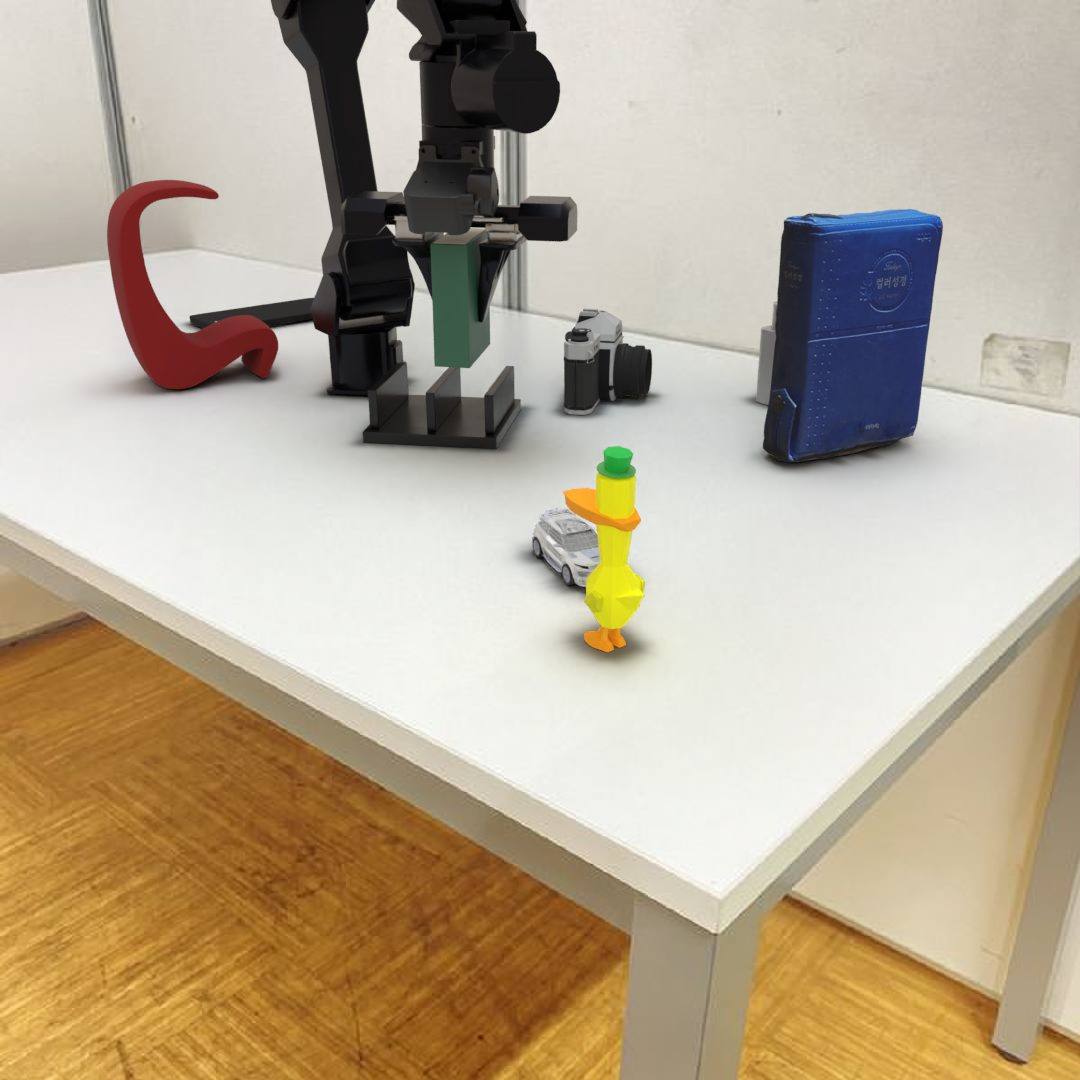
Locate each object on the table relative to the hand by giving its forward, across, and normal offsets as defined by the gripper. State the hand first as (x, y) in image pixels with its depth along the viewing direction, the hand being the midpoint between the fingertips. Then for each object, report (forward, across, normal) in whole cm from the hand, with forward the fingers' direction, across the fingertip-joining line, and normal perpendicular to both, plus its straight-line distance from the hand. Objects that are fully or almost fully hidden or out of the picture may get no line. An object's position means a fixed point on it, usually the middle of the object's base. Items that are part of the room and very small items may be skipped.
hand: (462, 320), depth 96 cm
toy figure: (+10, +17, -35) cm, 40 cm away
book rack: (+11, -3, +4) cm, 12 cm away
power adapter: (+11, +28, +17) cm, 35 cm away
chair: (+11, -32, +16) cm, 37 cm away
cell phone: (+12, -36, +43) cm, 58 cm away
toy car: (+10, +14, -25) cm, 30 cm away
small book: (+3, 0, 0) cm, 3 cm away
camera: (+11, +11, +15) cm, 22 cm away
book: (+10, +32, +2) cm, 34 cm away
